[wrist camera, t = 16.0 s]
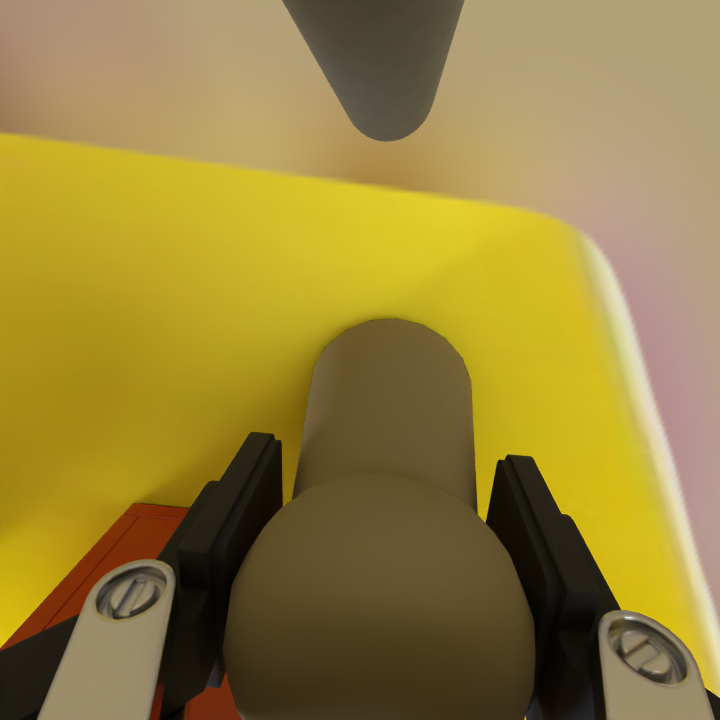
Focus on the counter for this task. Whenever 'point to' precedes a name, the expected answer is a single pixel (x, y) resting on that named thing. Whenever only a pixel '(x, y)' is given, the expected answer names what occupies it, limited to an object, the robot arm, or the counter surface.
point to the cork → (382, 554)
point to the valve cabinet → (115, 548)
